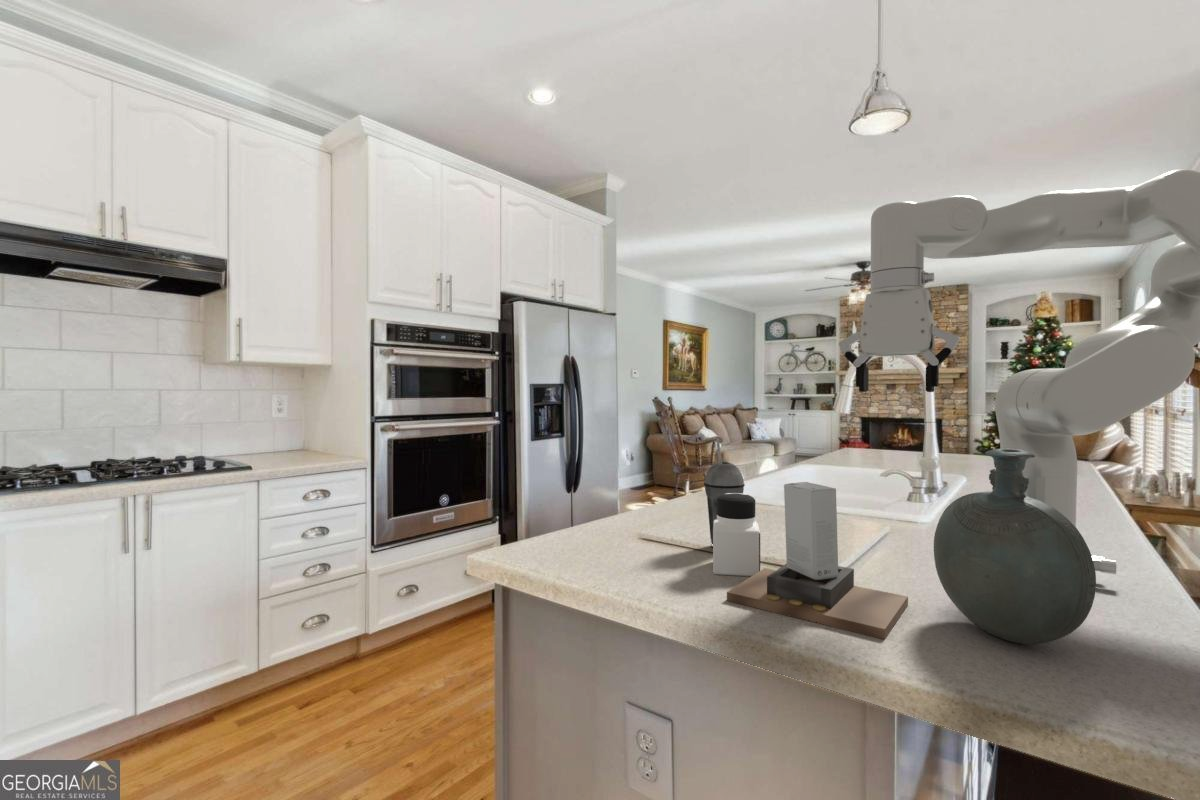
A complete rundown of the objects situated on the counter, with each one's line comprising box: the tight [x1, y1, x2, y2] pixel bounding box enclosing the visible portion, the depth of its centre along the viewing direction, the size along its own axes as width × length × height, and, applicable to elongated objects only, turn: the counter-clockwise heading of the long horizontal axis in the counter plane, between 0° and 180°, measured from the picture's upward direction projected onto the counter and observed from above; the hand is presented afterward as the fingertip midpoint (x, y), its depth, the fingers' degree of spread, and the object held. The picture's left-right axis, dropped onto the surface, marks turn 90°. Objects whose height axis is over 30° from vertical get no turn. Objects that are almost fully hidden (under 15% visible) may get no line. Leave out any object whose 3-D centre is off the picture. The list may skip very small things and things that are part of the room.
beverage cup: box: [703, 437, 746, 545], centre depth 106 cm, size 7×7×20 cm
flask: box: [933, 448, 1097, 645], centre depth 68 cm, size 12×17×22 cm
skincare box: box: [783, 481, 839, 580], centre depth 80 cm, size 6×4×12 cm
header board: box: [726, 563, 909, 640], centre depth 79 cm, size 20×13×4 cm, turn 52°
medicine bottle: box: [712, 493, 761, 577], centre depth 94 cm, size 7×7×12 cm
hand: (895, 391), depth 93 cm, fingers open, 9 cm apart
